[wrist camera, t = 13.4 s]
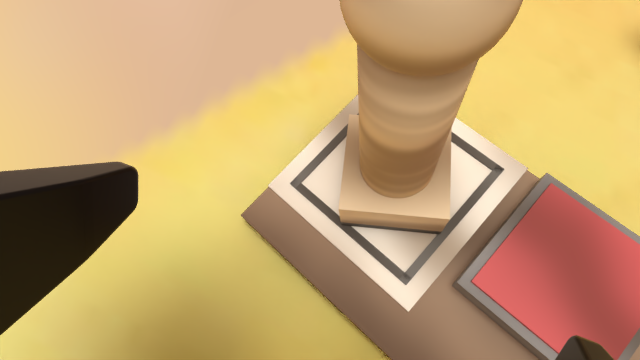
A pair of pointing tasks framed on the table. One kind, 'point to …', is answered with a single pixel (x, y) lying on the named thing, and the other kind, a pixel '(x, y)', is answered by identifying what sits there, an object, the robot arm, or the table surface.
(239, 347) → the table surface
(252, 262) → the table surface
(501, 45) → the table surface
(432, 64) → the stamp
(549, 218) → the board
